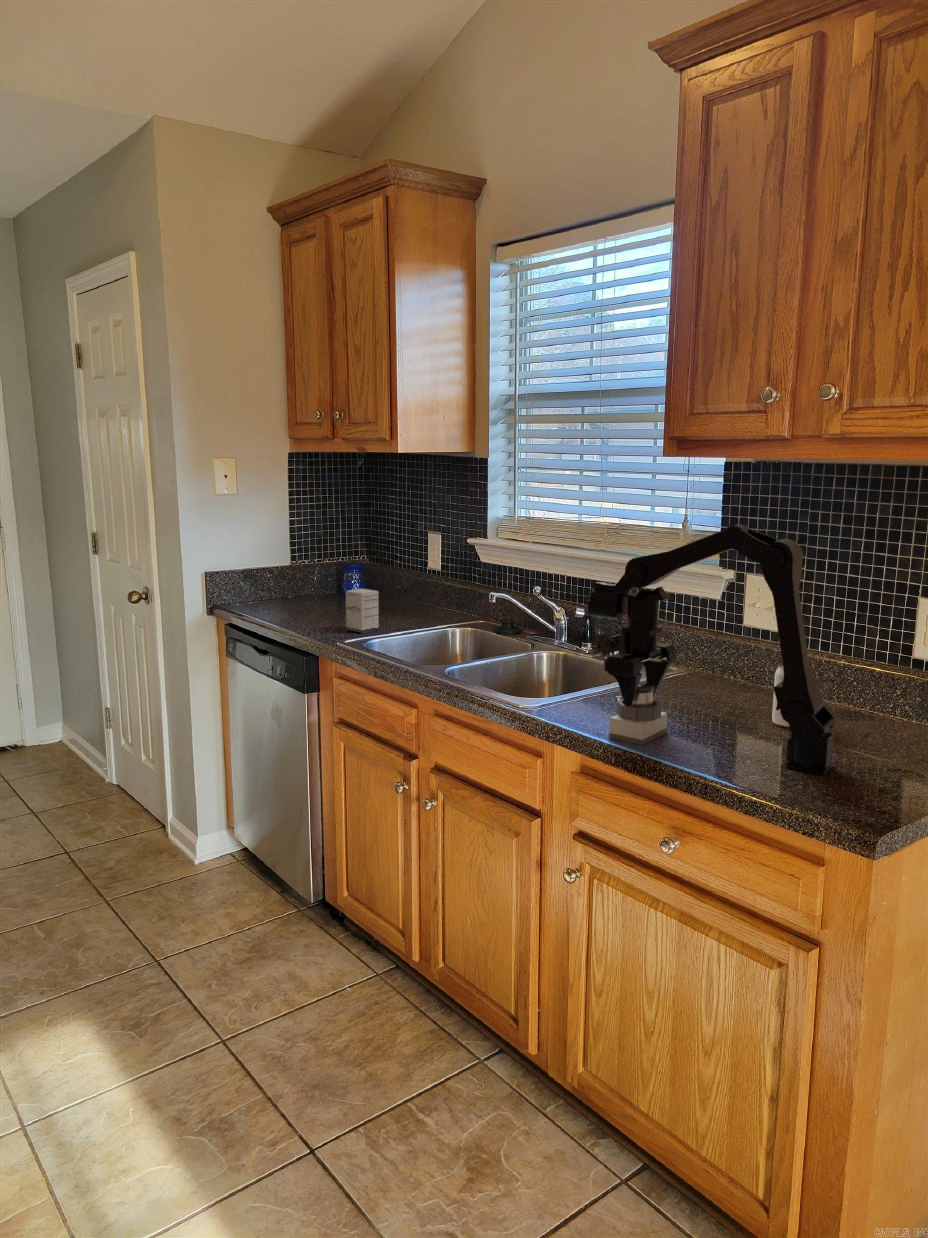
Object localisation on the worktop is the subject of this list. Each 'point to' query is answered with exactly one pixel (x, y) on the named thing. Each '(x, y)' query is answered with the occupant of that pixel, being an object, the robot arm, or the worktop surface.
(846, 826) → the worktop surface
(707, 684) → the worktop surface
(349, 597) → the beige wooden tall block
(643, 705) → the lens
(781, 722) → the can
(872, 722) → the worktop surface
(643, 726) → the octagonal ring tray
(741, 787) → the worktop surface
